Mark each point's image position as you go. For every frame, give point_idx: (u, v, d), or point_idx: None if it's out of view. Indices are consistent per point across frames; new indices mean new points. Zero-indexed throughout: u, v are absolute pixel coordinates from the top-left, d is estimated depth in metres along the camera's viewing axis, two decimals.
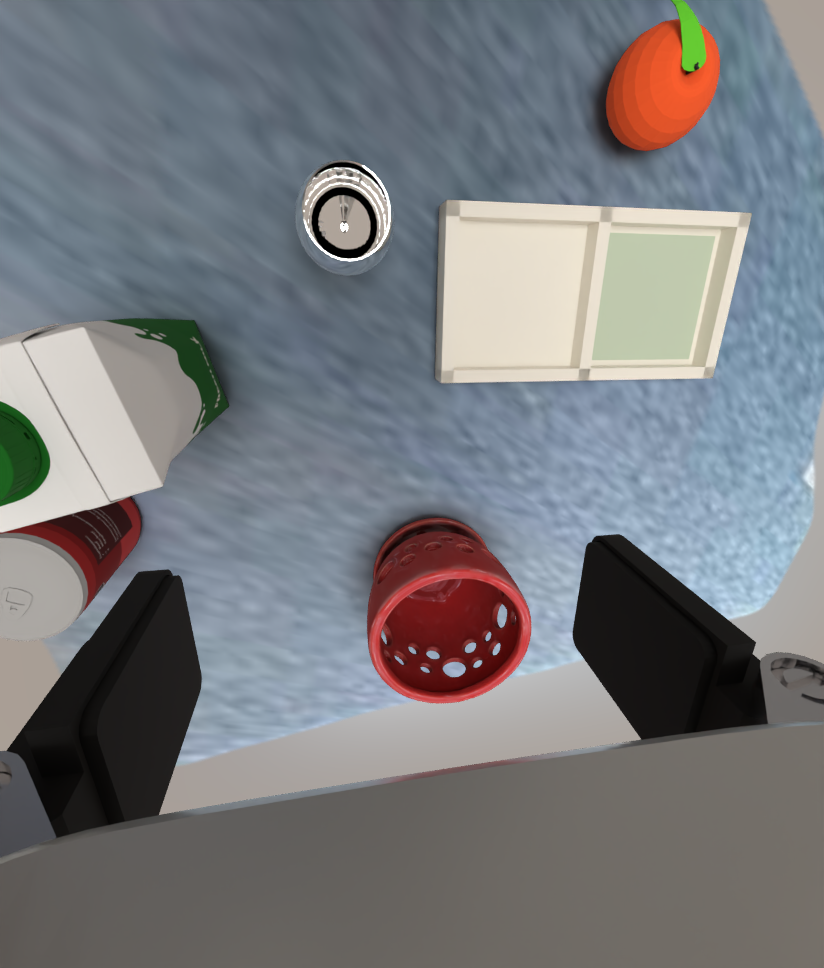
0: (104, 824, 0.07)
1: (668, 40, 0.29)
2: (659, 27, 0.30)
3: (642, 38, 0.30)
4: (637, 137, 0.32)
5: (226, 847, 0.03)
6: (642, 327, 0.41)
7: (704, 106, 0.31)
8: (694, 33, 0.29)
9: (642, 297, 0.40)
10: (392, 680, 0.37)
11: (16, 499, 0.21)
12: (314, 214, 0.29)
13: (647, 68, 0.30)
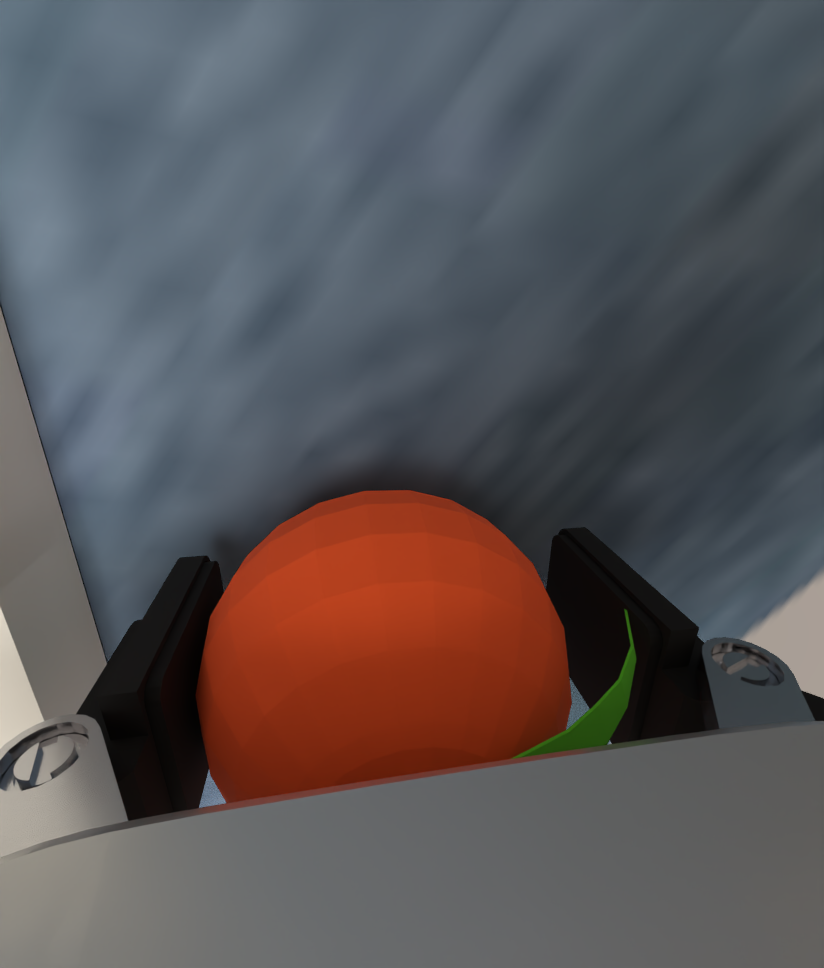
0: (163, 786, 0.07)
1: (511, 692, 0.06)
2: (552, 628, 0.08)
3: (521, 573, 0.08)
4: (208, 636, 0.08)
5: (226, 847, 0.03)
6: None
7: None
8: None
9: None
10: None
11: None
12: None
13: (412, 631, 0.06)
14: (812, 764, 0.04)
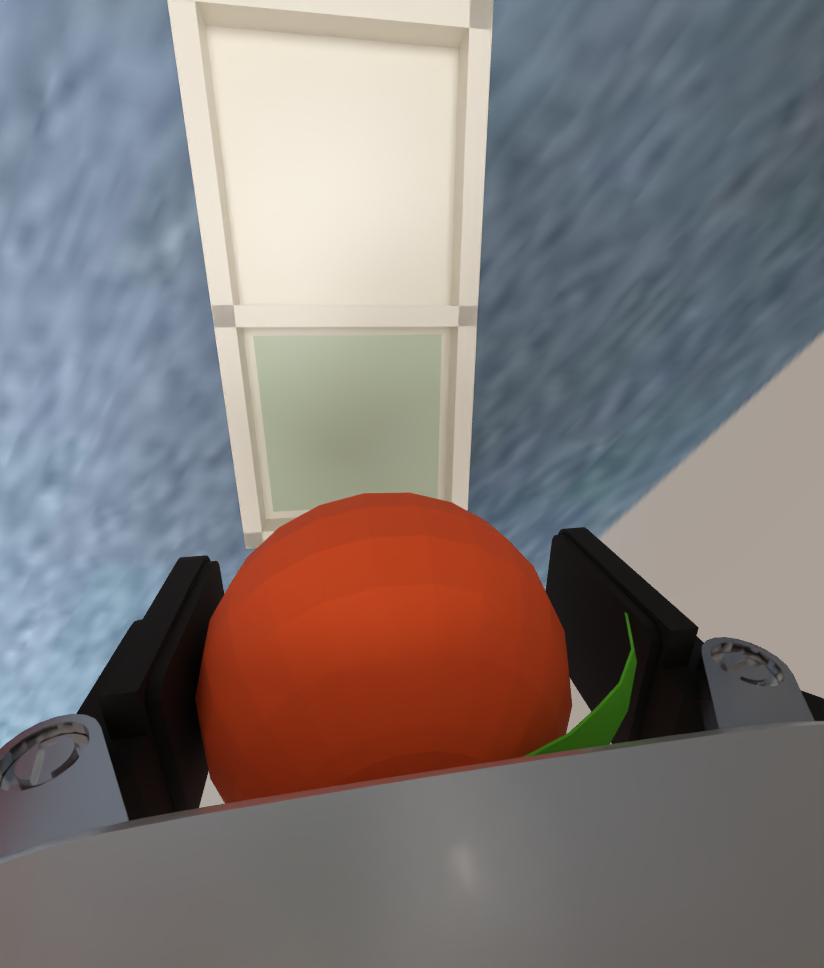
0: (163, 785, 0.07)
1: (511, 696, 0.06)
2: (552, 631, 0.08)
3: (521, 576, 0.08)
4: (208, 639, 0.08)
5: (226, 847, 0.03)
6: (313, 424, 0.26)
7: None
8: None
9: (357, 414, 0.27)
10: None
11: None
12: None
13: (412, 635, 0.06)
14: (812, 764, 0.04)
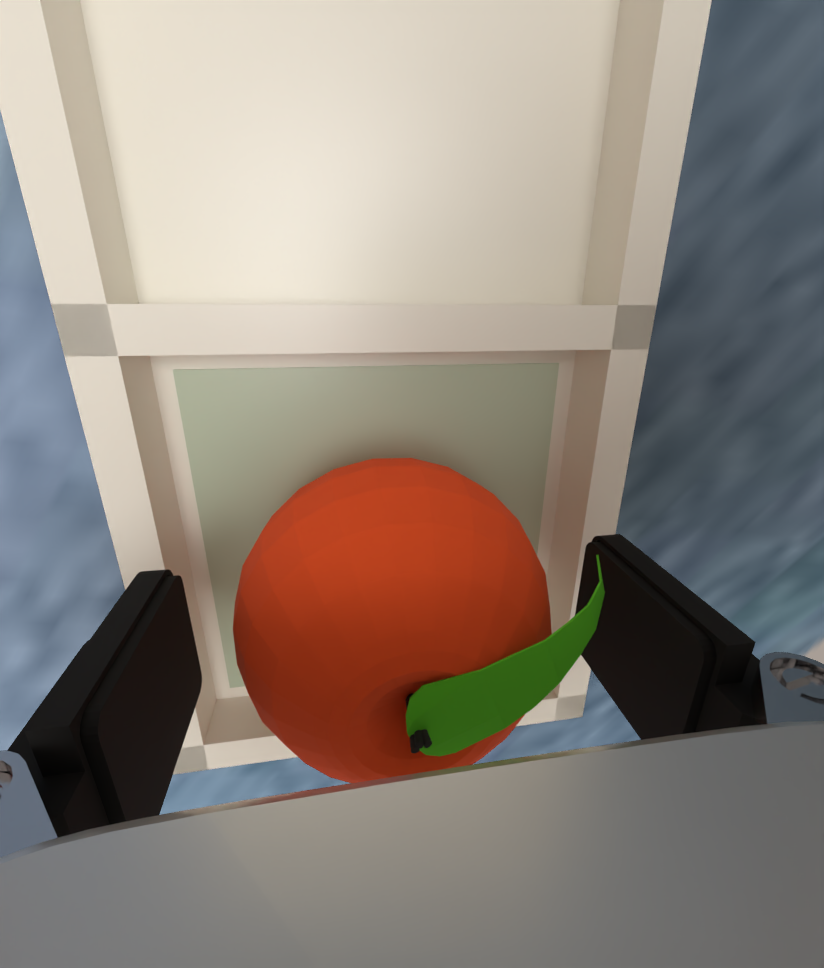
0: (105, 824, 0.07)
1: (498, 611, 0.08)
2: (533, 567, 0.09)
3: (507, 522, 0.09)
4: (243, 578, 0.09)
5: (226, 847, 0.03)
6: None
7: (329, 775, 0.09)
8: (516, 696, 0.08)
9: None
10: None
11: None
12: None
13: (416, 561, 0.08)
14: (812, 764, 0.04)
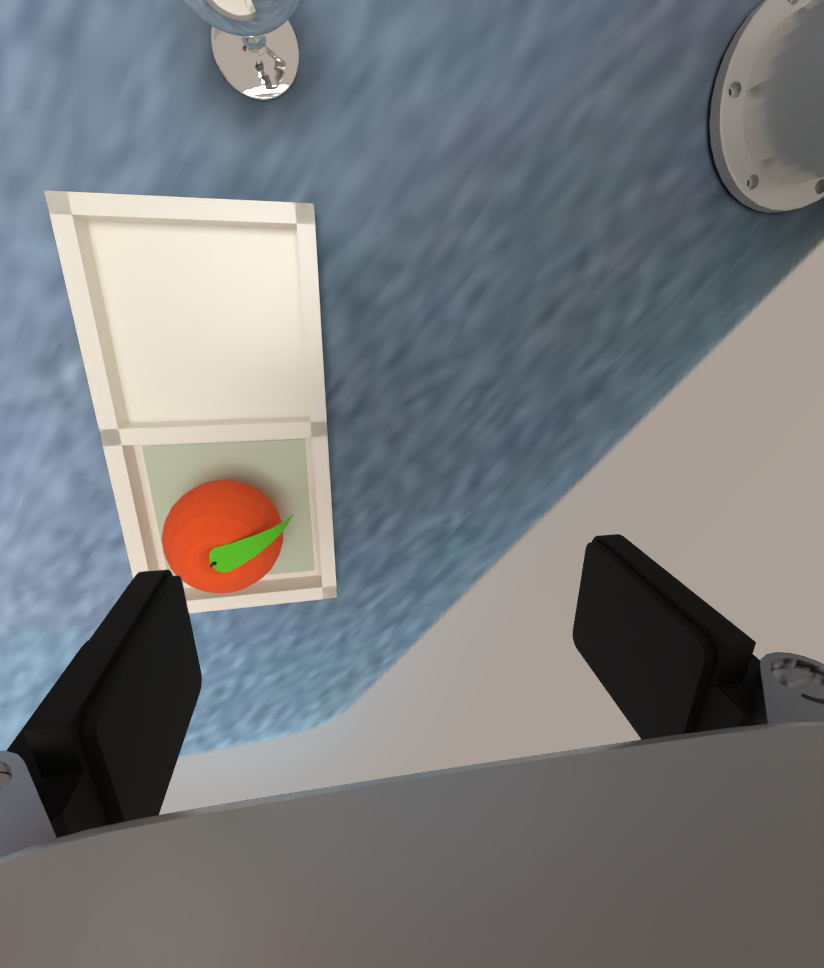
0: (104, 824, 0.07)
1: (240, 527, 0.26)
2: (263, 517, 0.27)
3: (255, 502, 0.27)
4: (165, 521, 0.27)
5: (226, 847, 0.03)
6: None
7: (193, 586, 0.27)
8: (245, 553, 0.26)
9: None
10: None
11: None
12: None
13: (214, 512, 0.26)
14: (812, 764, 0.04)
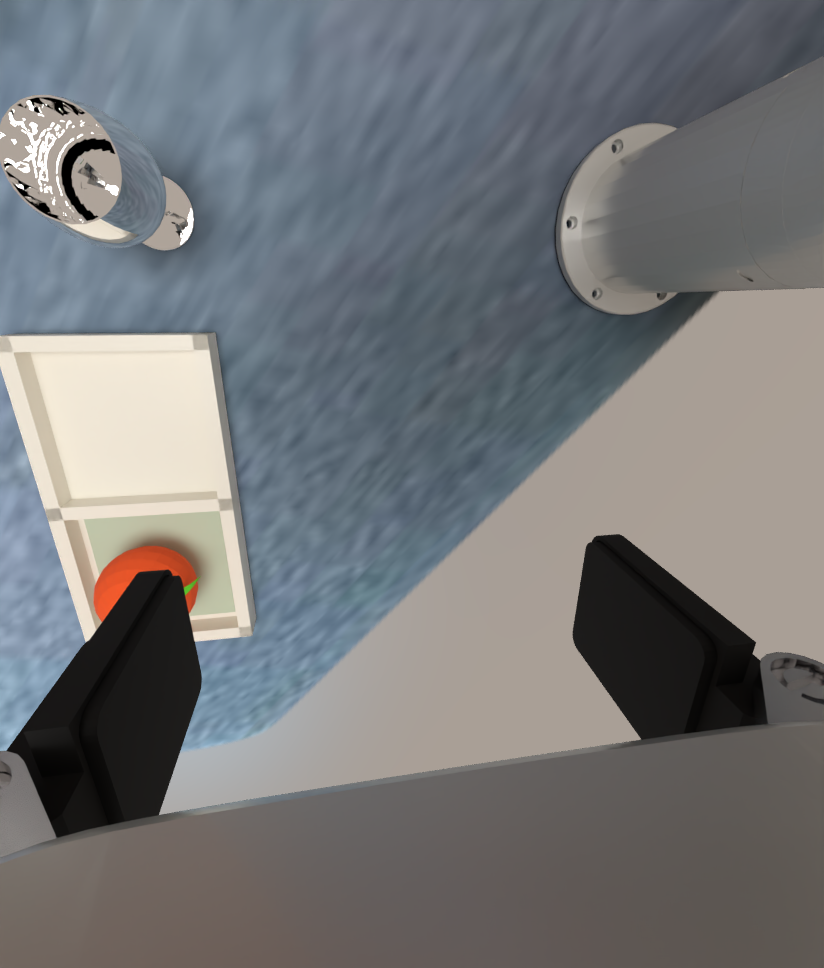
0: (104, 824, 0.07)
1: None
2: None
3: (167, 567, 0.34)
4: (96, 582, 0.34)
5: (226, 847, 0.03)
6: None
7: None
8: None
9: None
10: None
11: None
12: None
13: (130, 578, 0.32)
14: (812, 764, 0.04)
